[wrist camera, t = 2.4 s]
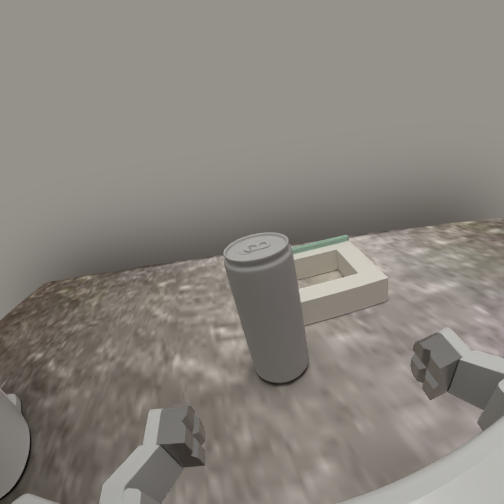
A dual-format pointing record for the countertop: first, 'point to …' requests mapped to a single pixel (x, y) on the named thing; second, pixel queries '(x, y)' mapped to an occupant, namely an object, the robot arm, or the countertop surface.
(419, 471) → the robot arm
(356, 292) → the socket block
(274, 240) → the beverage can
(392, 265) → the countertop surface
